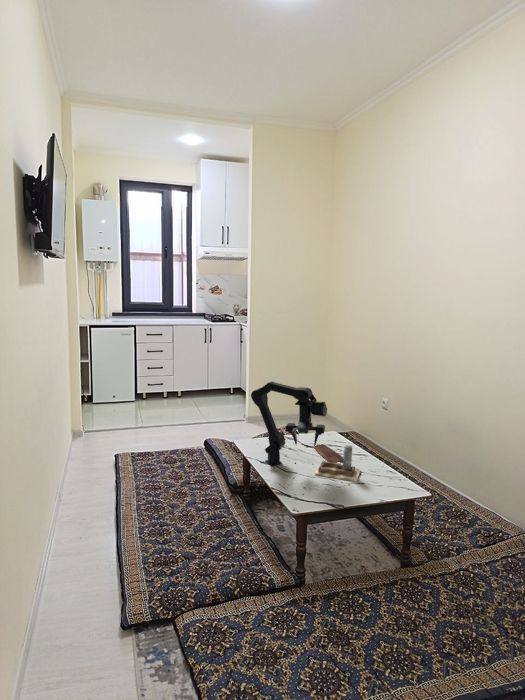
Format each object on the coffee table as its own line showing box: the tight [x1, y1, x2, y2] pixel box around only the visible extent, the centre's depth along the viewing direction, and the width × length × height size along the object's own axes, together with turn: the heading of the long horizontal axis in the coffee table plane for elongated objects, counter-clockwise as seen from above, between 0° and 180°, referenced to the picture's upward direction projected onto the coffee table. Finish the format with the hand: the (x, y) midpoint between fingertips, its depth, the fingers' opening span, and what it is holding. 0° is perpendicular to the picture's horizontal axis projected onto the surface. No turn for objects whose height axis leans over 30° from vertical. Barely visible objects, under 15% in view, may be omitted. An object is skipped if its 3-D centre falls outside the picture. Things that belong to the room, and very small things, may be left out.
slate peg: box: [342, 444, 353, 471], centre depth 228 cm, size 4×4×13 cm
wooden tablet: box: [312, 443, 343, 464], centre depth 255 cm, size 26×2×10 cm
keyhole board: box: [314, 460, 362, 483], centre depth 230 cm, size 20×13×3 cm, turn 71°
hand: (305, 445), depth 232 cm, fingers open, 9 cm apart
